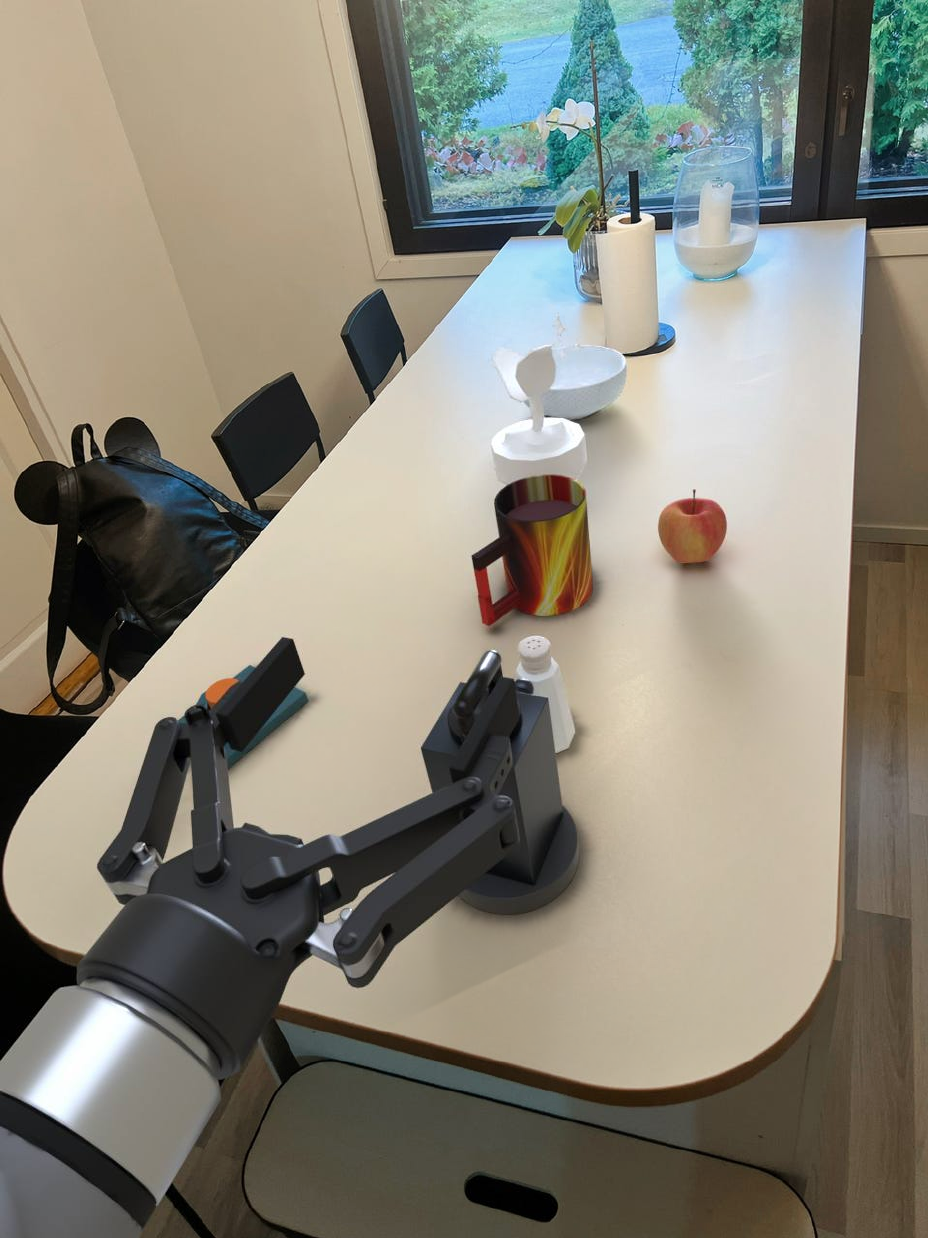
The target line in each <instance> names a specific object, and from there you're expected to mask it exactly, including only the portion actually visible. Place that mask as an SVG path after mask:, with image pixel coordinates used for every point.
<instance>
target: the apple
mask: <svg viewBox="0 0 928 1238" xmlns="http://www.w3.org/2000/svg"><path fill="white" fill-rule="evenodd" d="M696 491H697V490H696V489H695V488H694V489H692V493H693V494H692V495H693V496H692V497H688V498H681V499H677V500H674V501H673V502H671V503H668V504H667V505H666V506H665V507H664V508H663V509H662V511H661V513H660V515H659V517H658V523H657V532H658V537H659V540H660V543H661V544H662V547H663V548H664V551H666V553H667V554H668V555H669V556H670V557H671V558H672V559H673V560H674V561H675V562H677V563H678V564H685V563H686V564H695V563H702V562H706V561H708V560H710V559H712V558H713V557H714V556H715V555H716V554H717V552H719V550H720V548H721V547H722V545H723V543H724V541H725V538H726V534H727V530H728V522H727V516H726V514H725V511H724V510H723V508H722V507H721V505H720V504H719V503H718V502H716V501H715V500H713V499H708V498H701V497H696Z"/></svg>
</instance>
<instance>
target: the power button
mask: <svg viewBox="0 0 928 1238" xmlns="http://www.w3.org/2000/svg"><path fill="white" fill-rule="evenodd" d="M237 682H238V680H237V679H234V678H233V677H226V678H222V679H219V680H216V681H215V682H213V683H212V684H211V685H209V687H208V688H207V689H206V690H205V691H206V695H205V696H206V699H207V702H208V704H209V706H210V708H212V707H213V706H214V705H215V704H216V702H217V701H218V700H219V699H221V697H222V696H223V695H224V694H225V692H226V691H227V690H228V689H229V688H230V687H231V686H232V685H234V684H235V683H237Z"/></svg>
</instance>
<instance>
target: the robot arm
mask: <svg viewBox="0 0 928 1238" xmlns="http://www.w3.org/2000/svg"><path fill="white" fill-rule="evenodd" d="M305 675H306V672H305V670H304V667H303V664H302V660H301V658H300V655H299V652H298V649H297V646H296V643H295V641H294V638H290V637H285V636H282V637H281V638H280V639H279V640H278V641H277V642H276V643H275V645H273V647H272V648H271V649H270V650H269V651H268V653H267V654H266V655H265V656H264V657H263V658H262V659H261V660H260V661H259V663H258V664H257V665H256V666H255V669H254V670H253V671H252V672H251V673H250V675H249V676H248V677H247V678H246V679H245V680H244V681H243V682H241V681H238V682H237V683H235V684H234V685H232V686H231V687H230V688H229V689H228V690H227V691H226V692H225V694H224V695H223V696H222V697H221V699H219V700H218V701H217V702H216V704H215V705H214V706H213V707H212V708H211V709H210V710H209V712H208V710H207V707H206V706H205V705H202V704H198V705H196V704H194V705H192V706H189V707H188V708H187V709H186V710H185V712H184V715H183V716H184V717H185V719H186V721H187V723H178V721H177V720H178V718H176V717H174V716H167V717H163V718H161V719H160V720H159V721H158V722H156V724H155V726H154V727H153V731H152V734H151V736H150V737H151V738H150V740H149V743H148V747H147V749H146V752H145V755H144V759H143V761H142V765H141V766H140V767H141V768H140V771H139V775H138V776H137V780H136V782H135V785H134V789H133V792H132V794H131V795H132V796H131V797H130V800H129V801H130V802H129V804H128V807H127V810H126V813H125V817H124V820H123V822H122V826H121V829H120V831H118V834H117V835H116V836H115V838H114V839H113V840H112V841H111V843H110V844H109V846H108V847H107V848H106V850H105V851H104V853H103V854H102V855H101V857H100V858H99V860H98V861H97V864H96V869H97V871H98V872H99V874H100V875H101V877H102V879H103V881H104V882H105V883H106V884H107V886H108V888H109V889H110V891H111V892H112V894H113V896H114V897H115V898H116V900H117V902H118V903H119V904H120V905H123V906H122V908H121V909H120V910H119V912H118V913H117V914H116V916H114V918H113V919H112V920H111V922H110V923H109V924H108V926H107V927H106V928H105V929H104V931H103V932H102V933H101V934H100V935H99V936H98V938H97V939H96V941H95V942H94V943H93V944H92V946H91V947H90V948H89V949H88V951H87V952H86V953H85V954H84V956H83V957H82V958H81V960H80V961H79V962H78V963H77V965H76V983H77V985H69V986H64V987H63V986H62V987H59V988H58V989H56V990H55V991H54V992H53V993H52V995H51V996H50V997H49V999H48V1000H47V1001H46V1002H45V1003H44V1005H43V1006H42V1008H41V1009H39V1011H38V1012H37V1014H36V1015H35V1017H33V1018H32V1020H31V1022H30V1023H29V1024H28V1025H27V1027H25V1029H24V1030H23V1032H22V1033H21V1034H20V1036H19V1037H18V1038H17V1039H16V1041H15V1042H14V1043H13V1044H12V1046H11V1047H10V1048H9V1050H8V1051H7V1052H6V1053H5V1055H4V1056H3V1057H2V1059H1V1060H0V1238H141V1236H142V1234H143V1233H144V1232H143V1229H144V1228H145V1227H146V1225H147V1224H148V1222H149V1220H150V1218H151V1217H152V1215H153V1214H154V1212H155V1211H156V1208H157V1207H158V1206H159V1204H160V1203H161V1201H162V1199H163V1198H164V1196H165V1194H166V1192H167V1191H168V1190H169V1188H170V1186H171V1185H172V1183H173V1181H174V1180H175V1178H176V1176H177V1174H178V1172H179V1171H180V1169H181V1167H182V1166H183V1164H184V1163H185V1161H186V1159H187V1158H188V1156H189V1154H190V1153H191V1151H192V1149H193V1148H194V1146H195V1144H196V1143H197V1141H198V1139H199V1138H200V1136H201V1135H202V1133H203V1131H204V1129H205V1128H206V1126H207V1125H208V1123H209V1120H210V1119H211V1118H212V1116H213V1114H214V1112H215V1111H216V1109H217V1107H218V1106H219V1104H220V1102H221V1100H222V1095H221V1094H222V1093H221V1087H220V1082H219V1080H224V1079H228V1078H229V1077H231V1076H234V1075H236V1074H238V1073H239V1072H240V1071H241V1069H242V1067H243V1066H244V1064H245V1062H246V1061H247V1059H248V1057H249V1055H250V1054H251V1052H252V1050H253V1049H254V1047H255V1045H256V1044H257V1042H258V1041H259V1038H260V1037H261V1035H262V1034H263V1032H264V1031H265V1029H266V1027H267V1025H268V1023H269V1022H270V1020H271V1018H272V1017H273V1015H274V1013H275V1012H276V1010H277V1009H278V1007H279V1005H280V1003H281V1000H282V998H283V995H284V992H285V991H286V987H287V985H288V982H289V980H290V978H291V976H292V974H293V973H294V972H295V970H296V969H298V968H299V966H300V965H301V964H303V963H304V962H305V961H307V960H308V959H310V958H311V957H312V956H314V957H316V958H319V959H320V960H323V961H324V962H325V963H328V964H331V965H332V966H334V967H336V968H338V969H341V971H342V972H343V975H344V977H345V979H346V982H347V984H348V985H349V986H350V987H352V988H356V989H363V988H365V987H367V986H369V985H370V984H371V983H372V981H373V980H374V979H375V978H376V976H377V975H378V973H379V971H380V970H381V969H382V967H383V965H384V964H385V963H386V961H387V959H388V958H389V957H390V954H391V953H392V952H393V950H394V949H395V947H396V946H398V945H399V944H400V943H401V942H402V941H404V940H405V939H406V938H407V937H408V936H409V935H411V934H412V933H413V932H415V931H416V930H417V929H419V927H421V926H422V925H423V924H424V923H426V922H427V921H428V920H429V919H431V918H432V917H433V916H434V915H435V914H437V913H438V912H439V911H440V910H441V909H443V908H444V907H445V906H446V905H448V904H449V903H450V902H452V901H453V900H454V899H456V898H457V897H458V895H459V894H460V893H461V892H462V891H464V890H465V889H466V888H467V887H469V886H470V885H471V884H472V883H474V882H475V881H476V880H477V879H478V878H480V877H481V876H482V875H483V874H485V873H486V872H487V871H488V870H490V869H491V868H492V867H493V866H494V865H496V864H497V863H498V862H499V861H501V860H502V859H503V858H504V857H506V856H507V855H508V854H509V853H510V852H512V851H513V850H514V849H515V848H516V847H517V846H518V845H519V842H520V837H519V830H518V824H517V818H516V812H515V806H514V802H513V800H512V799H511V798H509V797H507V796H497V795H498V793H499V791H500V789H501V787H502V785H503V783H504V781H505V779H506V777H507V775H508V773H509V771H510V769H511V767H512V752H511V746H510V739H509V736H510V734H511V732H512V730H513V728H514V727H515V725H516V723H517V721H518V719H519V717H520V716H519V709H518V702H517V695H516V688H515V678H513V677H507V676H503V677H501V676H500V678H499V680H498V682H497V684H496V685H495V687H494V689H493V691H492V692H491V694H490V696H489V698H488V700H487V701H486V703H485V705H484V707H483V708H482V710H481V712H480V714H479V716H478V717H477V719H476V721H475V723H474V724H473V726H472V728H471V730H470V732H469V733H468V735H467V737H466V739H465V740H464V742H463V744H462V746H461V747H460V749H459V751H458V753H457V755H456V756H455V758H454V760H453V762H452V763H451V765H450V767H449V769H450V774H451V778H452V783H453V784H450V785H448V786H446V787H444V788H442V789H440V790H438V791H436V792H434V793H432V792H431V793H429V794H427V795H426V796H423V797H421V798H419V799H417V800H414V801H413V802H410V803H408V804H406V805H404V806H401V807H399V808H398V809H396V810H393V811H392V812H391V811H390V812H389V813H388V814H385V815H383V816H381V817H379V818H376V819H374V820H372V821H370V822H368V823H366V824H364V825H362V826H360V827H357V828H355V829H353V830H351V831H348V832H347V833H345V834H342V835H335V834H333V833H329V834H325V835H323V836H320V837H318V838H315V839H314V840H312V841H310V842H308V843H306V844H304V841H303V839H302V838H300V837H296V836H294V835H290V834H281V833H279V834H278V833H277V834H276V833H270V832H268V831H266V830H264V828H262V827H260V826H259V825H256V824H252V823H248V822H244V823H243V825H241V827H235V826H234V817H233V806H232V797H231V787H230V777H229V768H227V758H226V750H225V748H224V746H225V745H226V743H227V742H228V743H229V746H230V748H231V749H232V750H236V751H240V752H243V751H244V749H245V748H246V747H247V746H248V744H249V743H250V742H251V741H252V739H253V738H254V737H255V736H256V734H257V733H258V732H259V731H260V729H261V728H262V727H263V726H264V724H265V723H266V722H267V721H268V719H269V718H270V717H271V716H272V714H273V713H274V712H275V711H276V710H277V708H278V707H279V706H280V705H281V703H282V702H283V701H284V700H285V698H286V697H287V696H288V695H289V693H290V692H291V691H292V690H293V688H294V687H296V686H297V685H298V683H299V682H300V681H301V680H302V679H303V677H304V676H305ZM190 767H191V768H190ZM189 768H190V769H191V787H192V803H193V809H191V811H190V823H191V824H190V825H191V843H192V844H191V845H192V848H189V849H188V850H186V851H184V852H182V853H180V854H178V855H176V856H174V857H173V858H171V859H169V860H166V861H164V859H165V856H166V854H167V850H168V846H169V842H170V839H171V835H172V832H173V827H174V823H175V820H176V817H177V814H178V809H179V806H180V802H181V798H182V794H183V791H184V787H185V783H186V779H187V775H188V772H189ZM326 868H328V869H329V870H330V872H331V878H330V879H329V880H328V881H327V882H325V883H323V884H321V875H320V872H319V871H321V870H323V869H326ZM387 877H388V878H387ZM383 879H385V880H383ZM381 880H383V881H382V882H381V883H380V884H378V885H377V886H376V887H375V888H373V890H371V891H370V892H368V893H367V894H366V895H365V897H364V898H363V899H362V900H361V901H360V902H359V903H358V904H357V905H356V907H355V908H354V909H353V908H352V907H348V906H346V905H348V904H351V903H352V902H354V901H356V899H357V898H358V896H359V894H360V893H361V891H362V890H363V889H365V888H367V887H369V886H370V885H373V884H375V883H377V882H379V881H381ZM344 906H346V907H344ZM342 907H344V908H343V909H341V910H340V911H339V915H338V916H339V917H338V918H337V919H335V920H333V921H330V922H325V916H327V915H329V914H331V913H332V912H335V911H337V910H339V909H340V908H342Z"/></svg>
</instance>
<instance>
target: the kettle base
mask: <svg viewBox="0 0 928 1238" xmlns="http://www.w3.org/2000/svg"><path fill="white" fill-rule="evenodd" d="M562 808H563V817H562V820H561V822H560V824H559V827H558V829H557V832H556V834H555V837H554V839H553V841H552V844H551V846H550V849H549V851H548V853H547V856H546V858H545V861H544V863H543V866H542V868H541V870H540V873H539V875H538V878H537V880H536V883H535V885H531V884H527V883H523V882H520V881H516V880H512V879H509V878H505V877H501V876H498V875H494V874H490V873H487V872H486V873H485V874H483V875H482V876H481V877H480V878H478V879H477V880H476V881H475V882H474V883H472V884H471V885H470V886H469V887H467V888H466V889H465V890H464V891H462V892H461V893H460V894H459V895H457V897H459V898H461V900H462V901H464V902H465V903H467V904H469V905H470V906H471V907H474V908H476V909H478V910H480V911H482V912H487V913H490V914H496V915H518V914H524V913H528V912H531V911H534V910H537V909H539V908H542V907H544V906H546V905H547V904H550V903H552V901H554V900H555V899H557V898H558V897H559V896H560V895H561V894H562V893H563V892H564V891H565V890H566V889H567V887H568V886H569V885H570V884H571V882H572V880H573V879H574V877H575V875H576V872H577V870H578V865H579V862H580V845H579V836H578V835H579V834H578V829H577V826H576V823H575V820H574V818H573V816H572V815H571V813H570V812H569V810H568V809H567V808H566V807H565V806H564V805H563V804H562Z"/></svg>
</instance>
